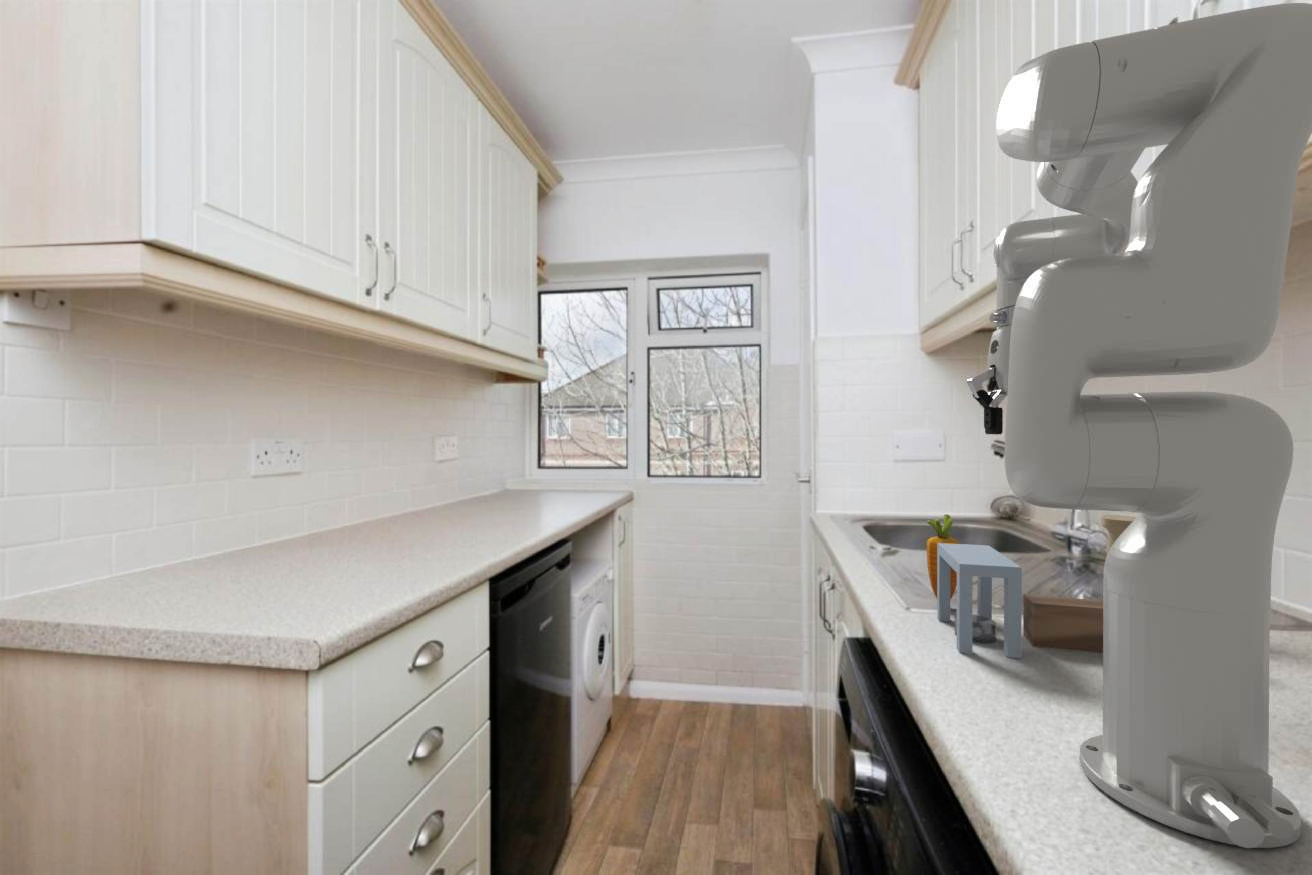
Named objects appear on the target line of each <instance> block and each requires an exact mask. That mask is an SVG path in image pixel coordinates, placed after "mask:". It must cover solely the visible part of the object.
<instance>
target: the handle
mask: <svg viewBox="0 0 1312 875" xmlns="http://www.w3.org/2000/svg"><path fill="white" fill-rule="evenodd" d="M1136 517H1137V516H1130V515H1122V514H1121V515H1120V514H1119V515H1118V514H1109V515H1108V514H1106V515H1101V517H1100V524H1101V526H1102V527H1103V528H1104V529H1106V530H1107V536H1108V537H1107V538H1108V539H1107V551H1106V556H1107V555H1108V553H1109V550H1110V548H1111V547H1112V545H1113V544H1114V542H1115V541H1116V540H1117V538H1118V537H1119V536H1120V535H1121V534H1122V533H1123V531H1124V530H1125V529H1126V528H1127V527H1128V526H1129V525H1130V524H1131V523H1132V522H1133V521H1134V520H1135V519H1136Z"/></svg>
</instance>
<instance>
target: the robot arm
mask: <svg viewBox="0 0 1312 875" xmlns="http://www.w3.org/2000/svg"><path fill="white" fill-rule="evenodd" d="M995 129H996V139H997V142H998V146H999V147H1000V150H1001V151H1002V152H1003V153H1004V154H1005V155H1006V156H1007V157H1009V158H1012V159H1015V160H1020V161H1027V162H1033V163H1040V164H1039V166H1038V169H1037V172H1036V186H1037V189H1038V192H1039V193H1040V195H1041V196H1042V198H1044V199H1045V201H1047V202H1048V203H1050V204H1051V205H1053V206H1055V207H1058V208H1060V209H1063V210H1066V211H1069V212H1074V213H1077V214H1070V215H1069V214H1068V215H1063V216H1062V215H1061V216H1054V217H1046V218H1039V219H1031V220H1030V219H1029V220H1022V221H1017V222H1014V223H1011V224H1009V225H1007V226H1006V227H1004V228H1003V229H1002V231H1001V232H1000V234H999V235H998V236H996V239H995V242H994V249H993V260H994V261H993V262H994V264H995V266H996V311H995V313H993V312H992V313H991V314H990V315H989V317H988V318H989V319H988V320H989V323H994V324H995V328H996V330H995V331H993V332H992V334H991V338H990V343H989V347H988V353H987V360H986V369H985V370H983V371H981V372H979V373H977V374H976V375H973V376H972V377H970V378H968V379H967V380H966V383H967V386H968V388H969V390H970V392H971V393H972V398H974V399H975V400H976V401H977V402H978V403H979V406H980V408H981V409H983V427H984V432H985V435H1002V434H1003V432H1004V467H1005V476H1006V479H1007V483H1008V486H1009V487H1010V489H1011V491H1012V493H1013V494H1014V495H1015V496H1016V497H1017V498H1018V499H1019V500H1020V501H1022V502H1024V503H1026V504H1029V505H1031V506H1036V507H1040V508H1047V509H1049V508H1050V509H1061V510H1063V509H1064V510H1079V511H1080V510H1081V511H1104V512H1105V511H1107V512H1108V511H1109V512H1110V511H1111V512H1128V513H1137V514H1138V515H1137V516H1135V517H1136V519H1135V520H1134V521H1133V522H1132V523H1131V524H1130V525H1129V526H1128V527H1127V528H1126V529H1125V530H1124V531H1123V533H1122V534H1121V535H1120V536H1119V537H1118V538H1117V540H1116V541H1115V542H1114V544H1113V545H1112V547H1111V548H1110V550H1109V553H1108V555H1107V554H1106V557H1105V561H1104V566H1103V585H1102V586H1103V587H1102V588H1103V593H1102V594H1103V597H1102V598H1103V599H1102V600H1103V653H1102V734H1100V735H1095V736H1092V737H1090V738H1088V739H1086V740H1084V741H1083V742H1082V743H1081V745H1080V746H1079V764H1080V767H1081V769H1082V771H1083V772H1084V774H1085V775H1086V777H1087V778H1088V779H1089V780H1090V781H1091V782H1092V783H1093V784H1095V786H1096V787H1098V789H1100V790H1101V791H1103V793H1105V795H1108V796H1109V797H1111V798H1112V799H1114V800H1115V801H1117V802H1119V803H1120V804H1122V805H1123V806H1126V807H1127V808H1129V809H1131V810H1132V811H1134V812H1136V813H1139V814H1140V815H1141V816H1144V817H1146V818H1149V819H1151V820H1153V821H1155V822H1158V823H1159V824H1162V825H1164V826H1167V827H1170V828H1172V829H1174V830H1177V831H1180V832H1183V833H1186V834H1190V835H1192V836H1196V837H1199V838H1202V839H1206V840H1210V841H1214V842H1219V843H1222V844H1226V845H1230V846H1231V845H1232V846H1238V847H1241V848H1244V849H1253V848H1257V849H1259V848H1262V849H1272V848H1280V847H1285V846H1290V844H1293V843H1295V842H1297V841H1298V839H1299V838H1300V836H1301V835H1302V833H1301V832H1302V817H1301V815H1300V811H1299V810H1298V809H1297V807H1296V806H1295V804H1294V803H1293V802H1292V801H1291V799H1289V798H1288V797H1287V796H1286V795H1285V794H1283V793H1282V792H1281V791H1280V790H1279V789H1278V788H1276V787H1274V778H1273V776H1272V775H1270V774H1269V768H1270V767H1269V766H1270V765H1269V763H1270V762H1269V760H1270V759H1269V758H1270V757H1269V755H1270V754H1269V750H1270V749H1269V747H1270V742H1269V741H1270V643H1271V641H1270V637H1271V636H1270V633H1271V632H1270V631H1271V630H1270V628H1271V627H1270V626H1271V624H1270V623H1271V614H1270V613H1271V608H1272V605H1271V603H1272V602H1271V601H1272V599H1271V598H1272V570H1273V568H1272V567H1273V552H1274V543H1275V534H1276V528H1277V522H1278V518H1279V515H1280V510H1281V507H1282V503H1283V499H1284V496H1285V492H1286V490H1287V485H1288V482H1289V479H1290V476H1291V470H1292V466H1293V461H1294V441H1293V436H1292V433H1291V430H1290V428H1289V426H1288V424H1287V422H1286V421H1285V420H1284V418H1282V416H1281V415H1280V414H1279V413H1278V412H1277V411H1275V410H1274V409H1273V408H1271V407H1270V406H1268V405H1267V404H1264V403H1263V402H1260V401H1258V400H1256V399H1253V398H1249V397H1246V396H1242V395H1237V394H1233V393H1225V392H1224V393H1223V392H1215V391H1213V392H1212V391H1161V392H1160V391H1157V392H1156V391H1155V392H1128V393H1109V394H1108V393H1105V394H1103V393H1102V394H1082V391H1083V388H1084V387H1085V385H1086V383H1087V382H1088V381H1089V380H1091V379H1097V378H1124V377H1125V378H1126V377H1127V378H1128V377H1147V376H1148V377H1151V376H1153V377H1155V376H1176V375H1177V376H1178V375H1196V374H1197V375H1199V374H1210V373H1219V372H1226V371H1229V370H1235V369H1239V368H1241V367H1245V366H1247V365H1248V364H1251V363H1253V362H1254V361H1256V360H1257V359H1259V357H1261V356H1262V355H1263V354H1264V352H1265V351H1266V349H1267V348H1268V347H1269V345H1270V343H1271V341H1272V339H1273V336H1274V335H1275V334H1274V333H1275V330H1276V327H1277V322H1278V318H1279V313H1280V307H1281V301H1282V293H1283V288H1284V287H1283V286H1284V280H1285V279H1284V278H1285V272H1286V265H1287V257H1288V249H1289V242H1290V235H1291V228H1292V222H1293V221H1292V220H1293V213H1294V204H1295V195H1296V194H1295V193H1296V184H1297V183H1296V182H1297V180H1298V179H1297V178H1298V174H1299V169H1300V165H1301V162H1302V158H1303V156H1304V152H1305V150H1306V148H1307V145H1308V142H1309V139H1310V138H1311V135H1312V3H1306V2H1290V3H1280V4H1279V3H1278V4H1271V5H1264V6H1263V5H1262V6H1258V7H1252V8H1251V7H1250V8H1246V9H1241V10H1235V11H1230V12H1224V13H1220V14H1215V15H1209V16H1203V17H1198V18H1195V19H1189V20H1184V21H1180V22H1175V23H1169V24H1167V25H1163V26H1159V27H1154V28H1150V29H1149V28H1148V29H1145V30H1139V31H1135V32H1129V33H1124V34H1119V35H1114V36H1110V37H1106V38H1100V39H1093V40H1090V41H1088V42H1085V41H1084V42H1082V43H1078V44H1073V45H1068V46H1063V47H1060V48H1057V49H1053V50H1050V51H1048V52H1046V53H1043V54H1041V55H1039V56H1037V57H1034V58H1032V59H1030V60H1028V61H1026V62H1025V63H1023V64H1022V65H1021V66H1020V67H1019V68H1018V69H1017V70H1016V72H1015V73H1014V74H1013V75H1012V77H1011V78H1010V80H1009V82H1008V83H1007V85H1006V87H1005V89H1004V92H1003V95H1002V97H1001V100H1000V103H999V107H998V110H997V116H996V128H995ZM1159 146H1160V147H1161V146H1165V148H1163V150H1162V151H1161V152H1160V153H1158V155H1157V157H1155V159H1154V160H1153V162H1152V163H1151V164H1150V165H1149V166H1148V168H1147V169H1146V170H1145V171H1144V173H1143V174H1142V176H1141V177H1140V179H1139V181H1138V180H1137V178H1136V177H1135V175H1134V174H1133V173H1132V169H1133V168H1134V166H1135V165H1136V163H1137V162H1138V160H1139V159H1140V157H1141V155H1142V154H1143V153H1144V151H1145V149H1146V148H1154V147H1159ZM1125 248H1126V249H1125ZM1124 249H1125V251H1124ZM1123 251H1124V252H1123ZM984 382H986V389H984V387H983V383H984ZM986 390H987V391H986ZM1005 399H1006V415H1005V428H1003V424H1004V421H1003V419H1004V418H1003V417H1004V416H1003V414H1004V413H1003V412H1004V410H1003V407H999V406H1000V404H1001V403H1002V402H1003V401H1004V400H1005ZM1003 429H1004V431H1003Z"/></svg>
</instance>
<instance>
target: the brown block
mask: <svg viewBox="0 0 1312 875" xmlns="http://www.w3.org/2000/svg"><path fill="white" fill-rule="evenodd" d="M1022 596H1023V600H1022V601H1023V604H1022V605H1023V607H1022V608H1023V610H1022V614H1023V618H1022V619H1023V620H1022V621H1023V622H1022V623H1023V625H1022V626H1023V627H1022V629H1023V630H1022V633H1023V634H1022V636H1023V637H1024V638H1025V639H1026V640H1027V642H1028V643H1029V644H1030V645H1031V646H1032V647H1035V648H1037V647H1038V648H1048V649H1058V650H1067V651H1068V650H1069V651H1077V652H1087V653H1088V652H1089V653H1099V654H1103V599H1102V600H1101V599H1089V598H1076V597H1075V598H1073V597H1062V596H1048V595H1047V596H1045V595H1033V594H1023V595H1022Z"/></svg>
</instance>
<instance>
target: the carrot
mask: <svg viewBox="0 0 1312 875" xmlns="http://www.w3.org/2000/svg"><path fill="white" fill-rule="evenodd" d="M926 523H927V524H928V525H930V526H931V527H932V528H933V530H934V531H935V533H936V535H937V536H932V537H930V538H929V539H927V540H926V562H927V563H926V564H927V572H928V577H929V581H930V587H931V589H932V591H933V594H934V596H935V598H936V599H937V543H948V544H961V543H960V542H959V541H958V540H956V539H955V538H954V537H950V536H949V534H950V530H951V527H952V525H953V524H954V521H953V519H951V516H950V514H946V513H945V514H944V515H943V526H942V525H941V524H942V523H941V522H940V520H939V518H936V519H934V521H933V520H932V519H929V520H927V522H926ZM956 591H957V572H956V571H955V570H954V569H953V568H952V567H951V566H950V601H951V600H952V598H953V597H954V594H955V592H956Z"/></svg>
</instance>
